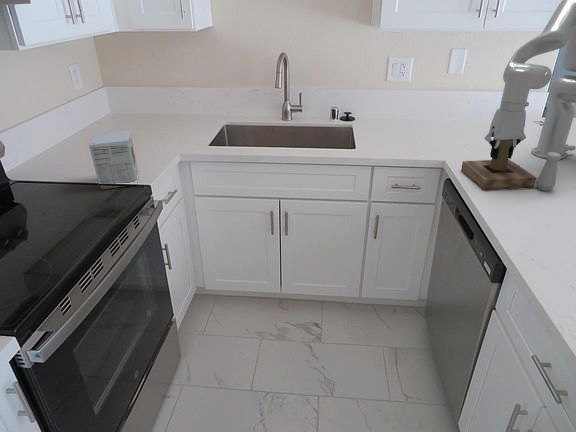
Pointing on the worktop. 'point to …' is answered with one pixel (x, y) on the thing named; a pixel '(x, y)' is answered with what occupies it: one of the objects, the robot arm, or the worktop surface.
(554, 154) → the salt shaker
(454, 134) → the worktop surface
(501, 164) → the olive pepper mill
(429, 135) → the worktop surface
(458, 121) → the worktop surface
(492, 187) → the walnut holder
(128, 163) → the supplement box
